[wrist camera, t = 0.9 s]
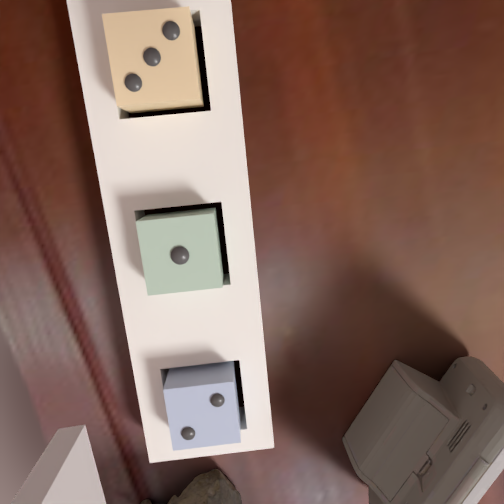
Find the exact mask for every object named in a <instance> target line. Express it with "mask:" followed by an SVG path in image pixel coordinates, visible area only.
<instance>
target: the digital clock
mask: <svg viewBox="0 0 504 504" xmlns="http://www.w3.org/2000/svg"><path fill="white" fill-rule="evenodd" d="M342 441H343V444H344V446H345V449H346V451H347V454H348V456H349V459H350V461H351V464H352V466H353V468H354V470H355V472H356V474H357V475H358V477H359V478H360V479H361V480H362V481H364V482H365V483H366V484H367V485H369V504H477V503H478V502H479V500H480V499H481V498H482V496H483V495H484V494H485V492H486V491H487V490H488V488H489V487H490V486H491V485H492V483H493V482H494V481H495V479H496V478H497V477H498V475H499V474H500V473H501V471H502V470H503V469H504V383H503V382H502V381H501V380H500V379H499V378H498V377H497V376H496V375H495V374H494V373H493V372H492V371H491V370H490V369H489V368H488V367H487V366H486V365H485V364H484V363H483V362H482V361H481V360H479V359H477V358H474V357H469V356H468V357H460V358H457V359H456V360H455V361H454V362H453V363H452V365H451V366H450V367H449V369H448V370H447V372H446V373H445V375H444V376H443V377H442V379H441V380H440V381H437V380H435V379H433V378H431V377H429V376H427V375H425V374H423V373H421V372H419V371H417V370H415V369H413V368H411V367H409V366H407V365H405V364H404V363H402V362H400V361H397V360H394V361H393V363H392V364H391V366H390V367H389V369H388V370H387V372H386V373H385V375H384V376H383V378H382V379H381V381H380V382H379V384H378V385H377V387H376V388H375V390H374V391H373V393H372V394H371V396H370V397H369V399H368V400H367V402H366V403H365V405H364V406H363V408H362V409H361V411H360V412H359V414H358V415H357V417H356V418H355V420H354V421H353V423H352V424H351V426H350V427H349V429H348V430H347V432H346V433H345V435H344V436H343V438H342Z"/></svg>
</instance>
